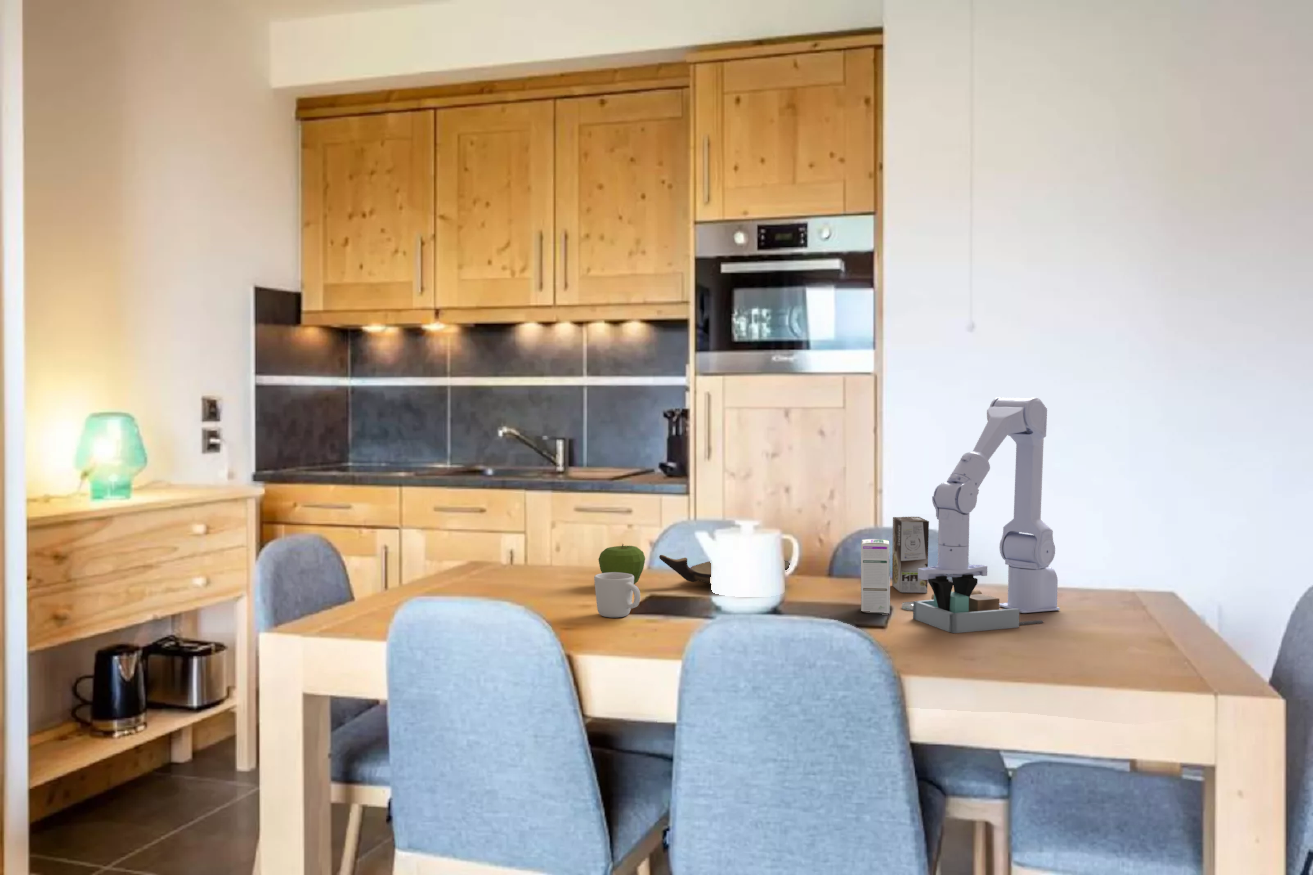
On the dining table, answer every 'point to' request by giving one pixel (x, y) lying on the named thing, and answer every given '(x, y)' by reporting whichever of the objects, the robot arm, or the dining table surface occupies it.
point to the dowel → (971, 593)
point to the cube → (983, 603)
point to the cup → (615, 594)
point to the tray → (964, 618)
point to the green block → (956, 603)
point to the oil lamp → (693, 569)
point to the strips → (1030, 622)
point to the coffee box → (909, 553)
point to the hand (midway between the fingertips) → (952, 614)
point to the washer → (907, 606)
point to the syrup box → (875, 575)
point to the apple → (622, 560)
